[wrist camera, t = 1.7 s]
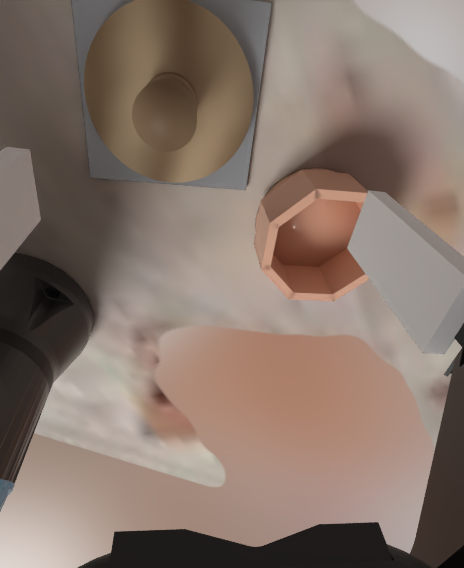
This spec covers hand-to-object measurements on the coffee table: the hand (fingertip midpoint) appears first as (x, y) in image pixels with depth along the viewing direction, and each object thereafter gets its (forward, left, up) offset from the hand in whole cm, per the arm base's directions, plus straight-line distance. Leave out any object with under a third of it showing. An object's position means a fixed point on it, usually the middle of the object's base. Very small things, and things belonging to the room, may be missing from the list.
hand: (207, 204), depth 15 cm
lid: (-2, +1, -19) cm, 19 cm away
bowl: (+12, -9, -20) cm, 24 cm away
